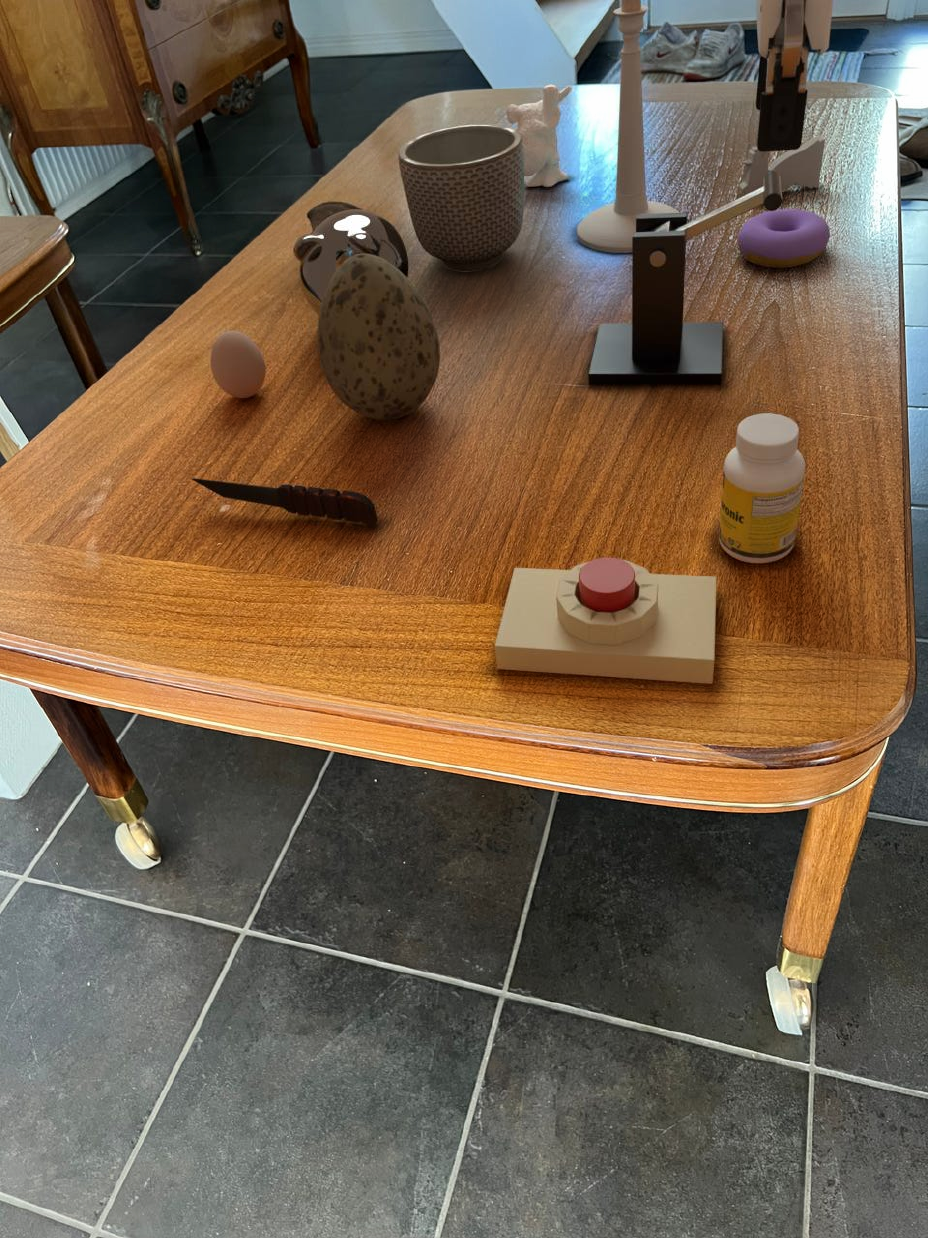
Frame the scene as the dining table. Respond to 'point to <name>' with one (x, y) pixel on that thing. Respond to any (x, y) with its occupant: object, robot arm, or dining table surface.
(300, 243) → the piggy bank
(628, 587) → the button
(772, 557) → the supplement bottle
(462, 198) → the planter
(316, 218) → the seashell
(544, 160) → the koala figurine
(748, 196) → the lever
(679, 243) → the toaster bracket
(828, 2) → the robot arm
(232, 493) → the knife
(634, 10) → the candlestick
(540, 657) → the power block
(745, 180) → the grey flat notched piece
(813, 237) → the donut
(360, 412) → the decorative egg
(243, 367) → the egg
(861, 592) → the dining table surface
